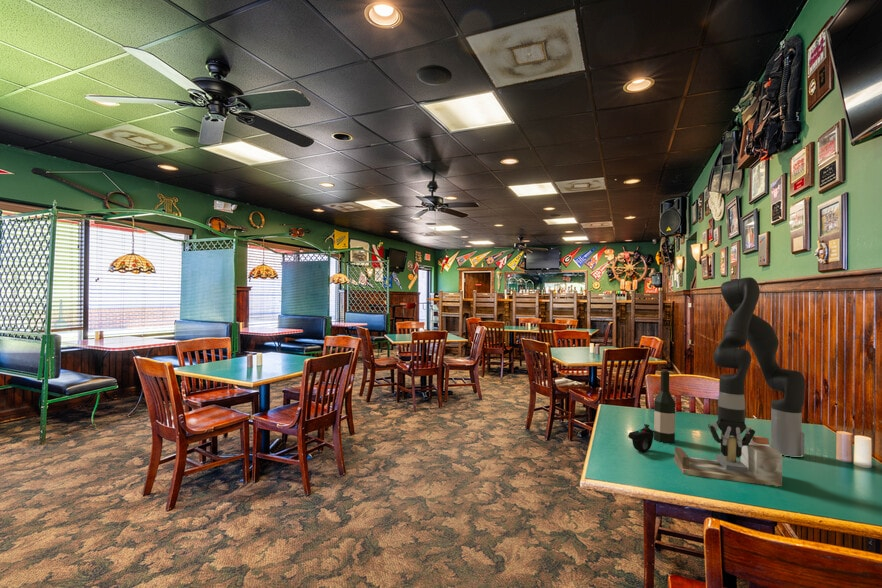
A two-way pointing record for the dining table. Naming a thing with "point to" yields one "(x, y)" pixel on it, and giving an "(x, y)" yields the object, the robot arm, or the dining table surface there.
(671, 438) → the wine bottle
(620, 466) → the dining table surface
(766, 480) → the rail board
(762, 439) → the button
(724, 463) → the carriage
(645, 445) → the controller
